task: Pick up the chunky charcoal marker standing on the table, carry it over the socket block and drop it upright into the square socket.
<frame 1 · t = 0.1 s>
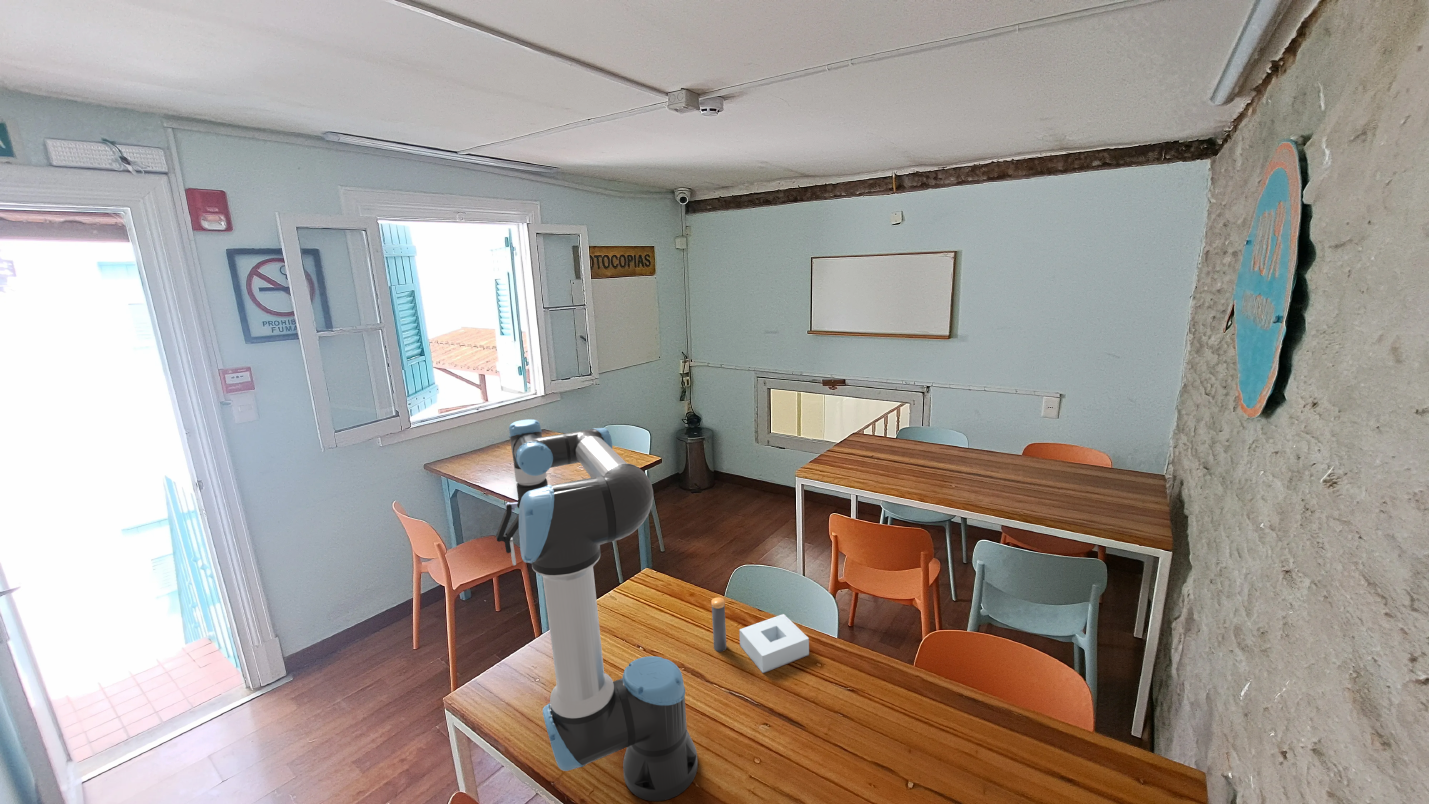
hand: (541, 556, 144), 28 cm above the table, fingers open, 13 cm apart
marker: (720, 647, 147), on the table
socket block: (773, 650, 145), on the table
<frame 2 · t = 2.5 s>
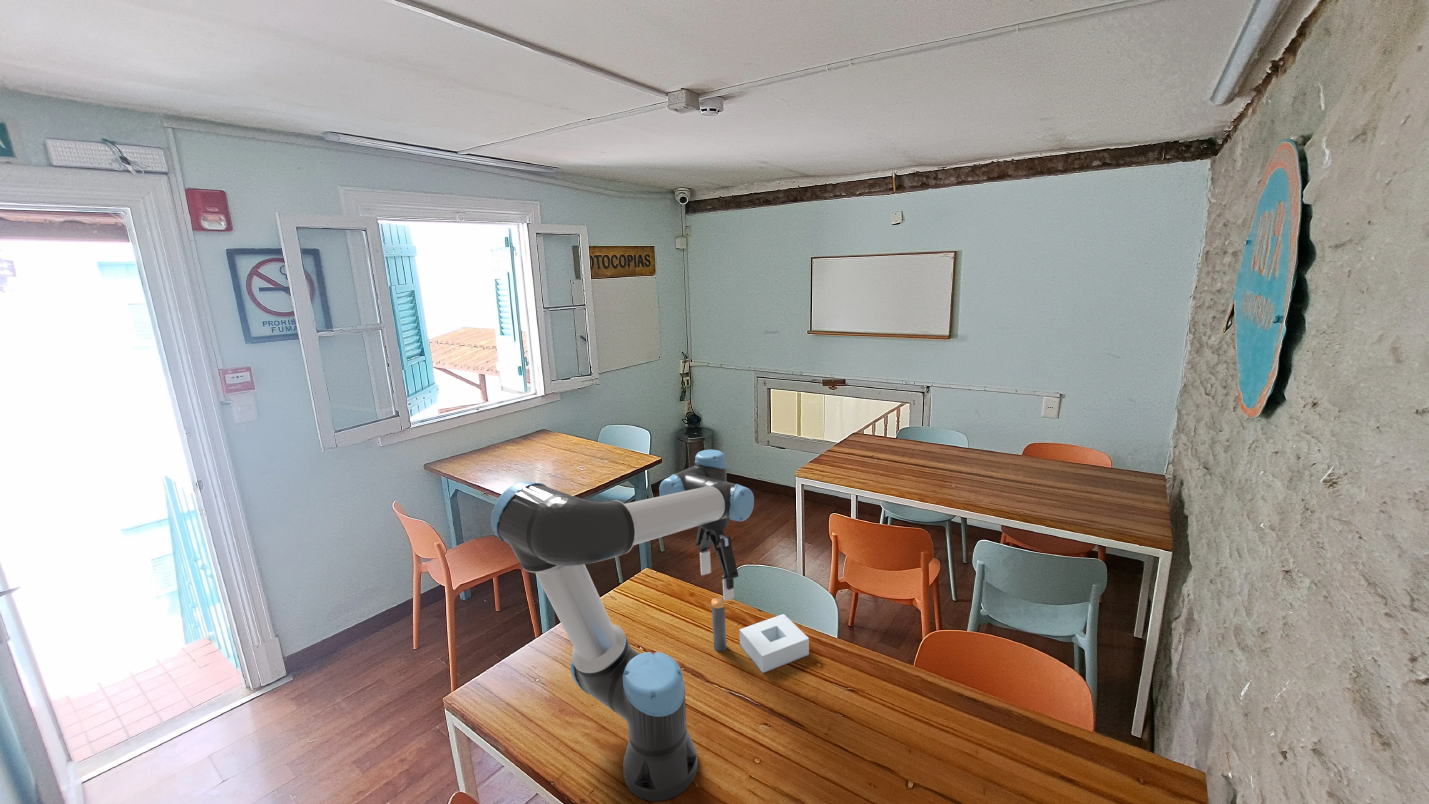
hand: (717, 585, 143), 19 cm above the table, fingers open, 13 cm apart
nothing on the table moved.
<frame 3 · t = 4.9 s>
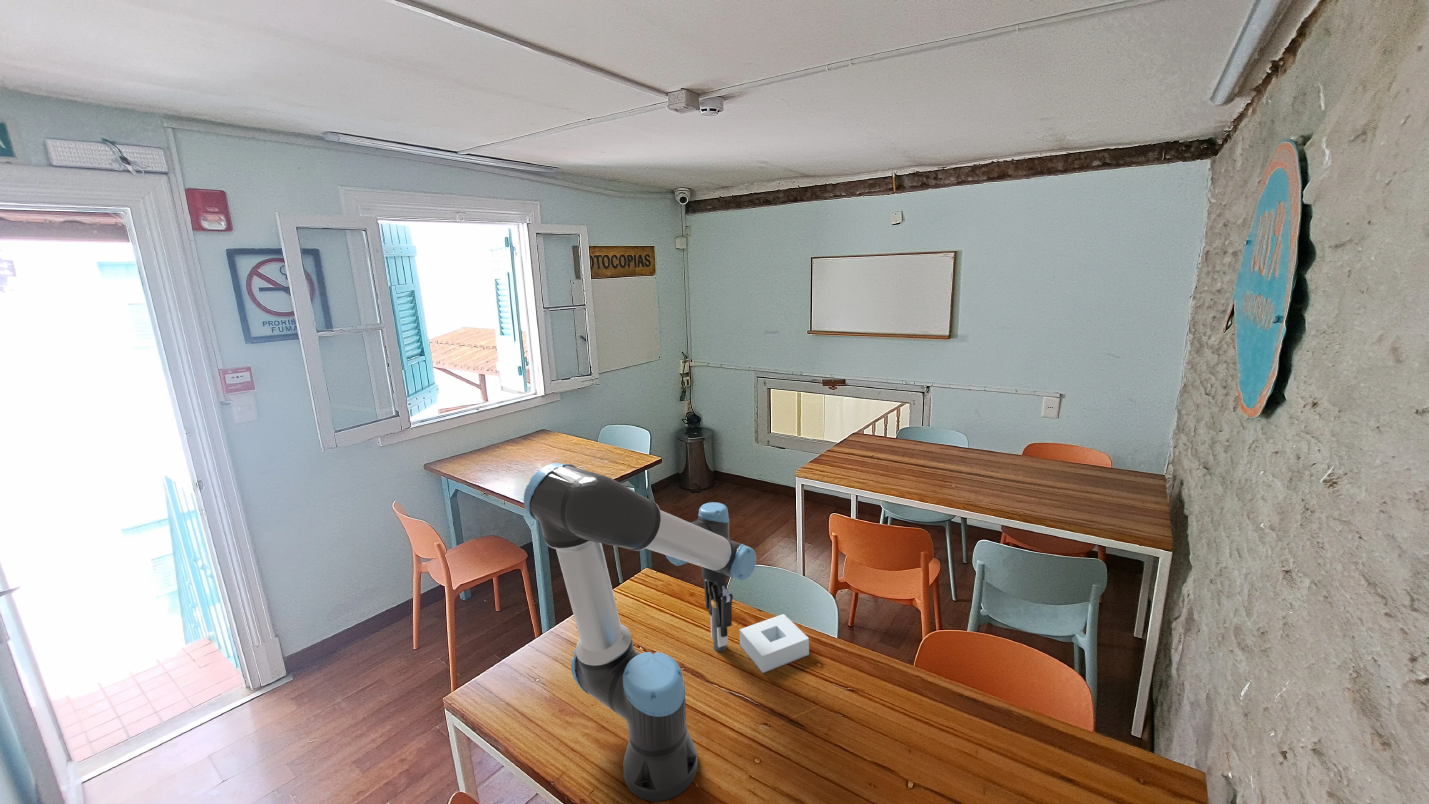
hand: (719, 640, 147), 2 cm above the table, fingers closed on marker, 3 cm apart
marker: (719, 647, 147), on the table, touching gripper
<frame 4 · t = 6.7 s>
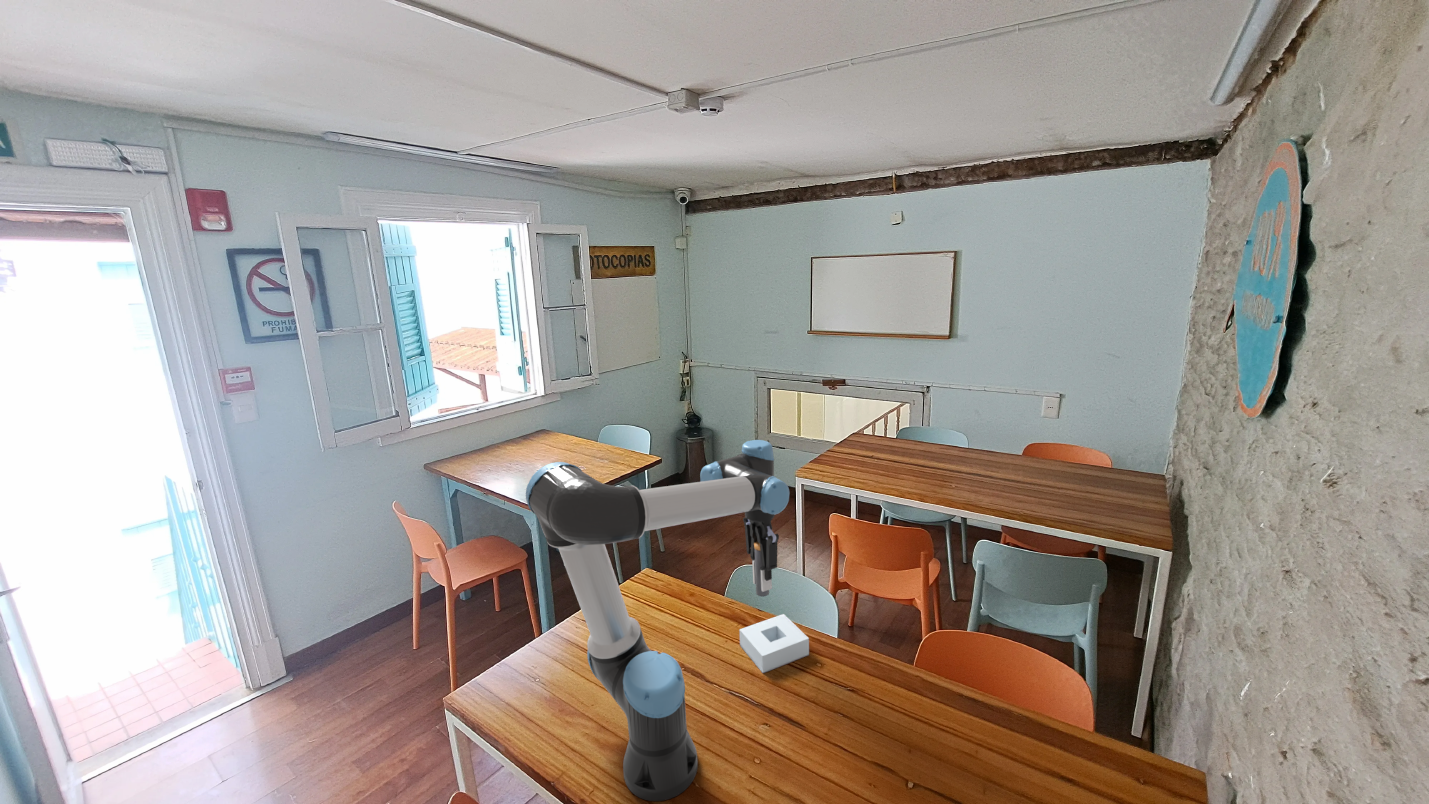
hand: (762, 585, 142), 19 cm above the table, fingers closed on marker, 3 cm apart
marker: (762, 592, 142), point 17 cm above the table, touching gripper
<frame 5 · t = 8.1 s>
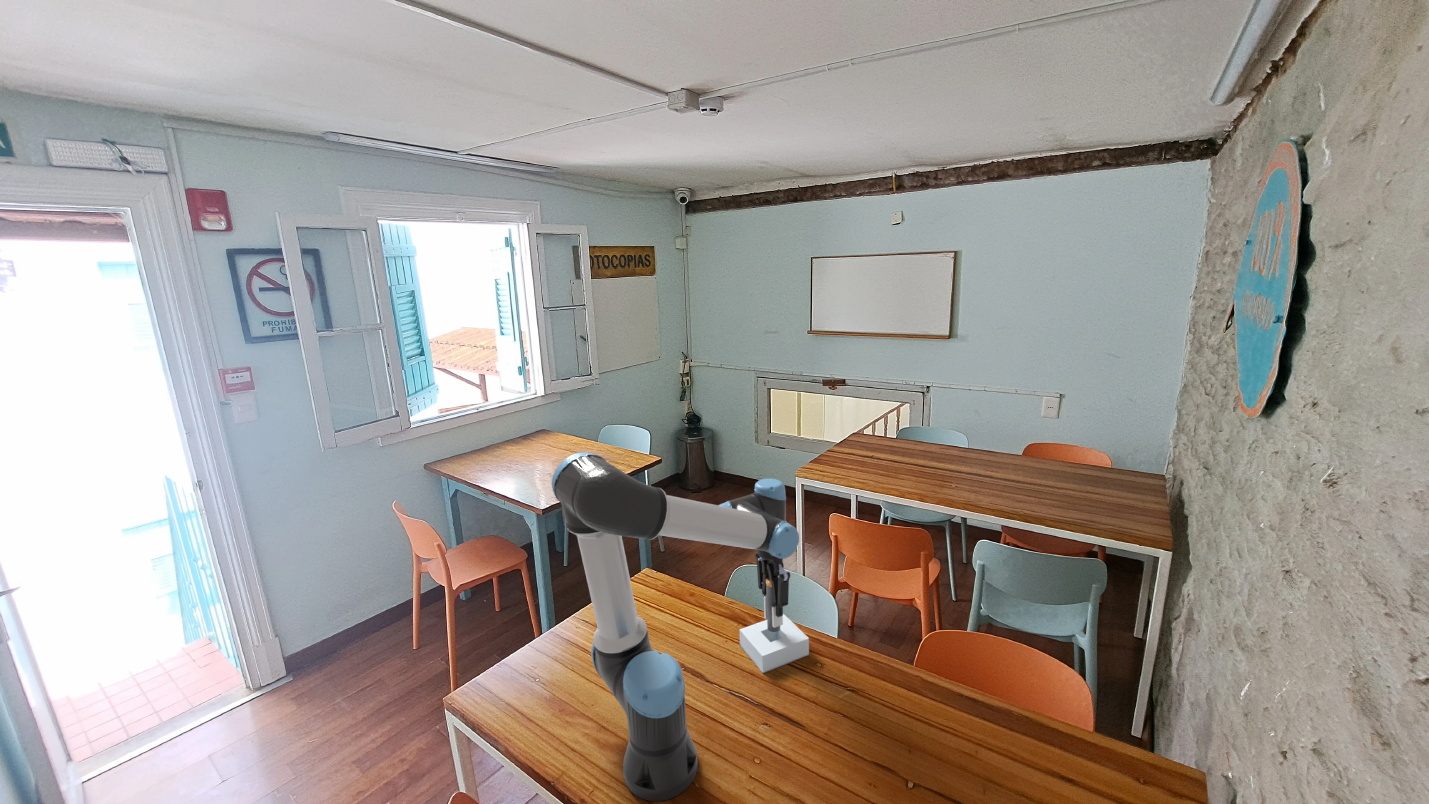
hand: (773, 621, 143), 9 cm above the table, fingers closed on marker, 3 cm apart
marker: (773, 627, 144), point 7 cm above the table, touching gripper
when the fingers open (6 cm above the table, at t = 8.9 s): marker drops 2 cm, resting on socket block.
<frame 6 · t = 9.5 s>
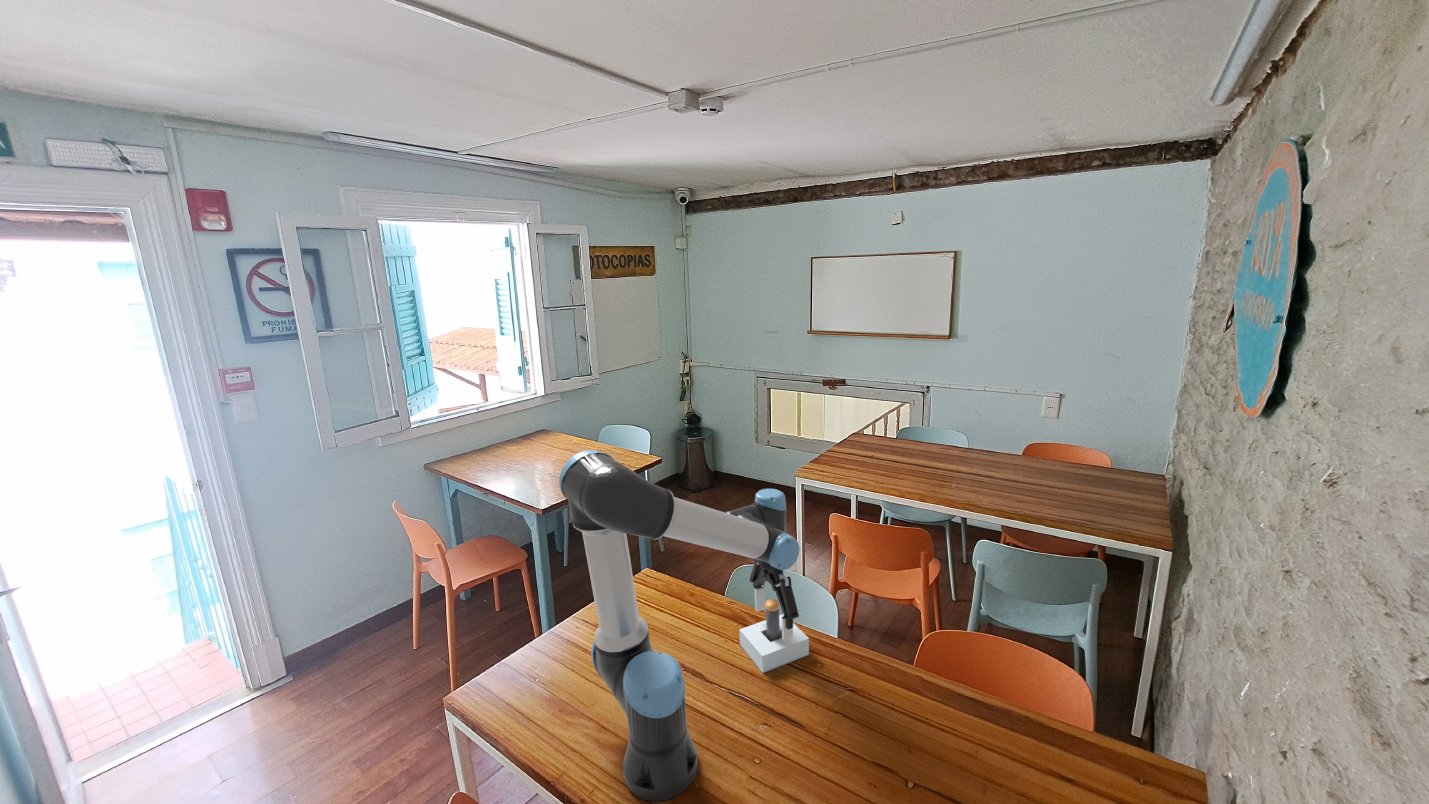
hand: (773, 623, 143), 8 cm above the table, fingers open, 13 cm apart
marker: (774, 648, 145), point 1 cm above the table, touching socket block
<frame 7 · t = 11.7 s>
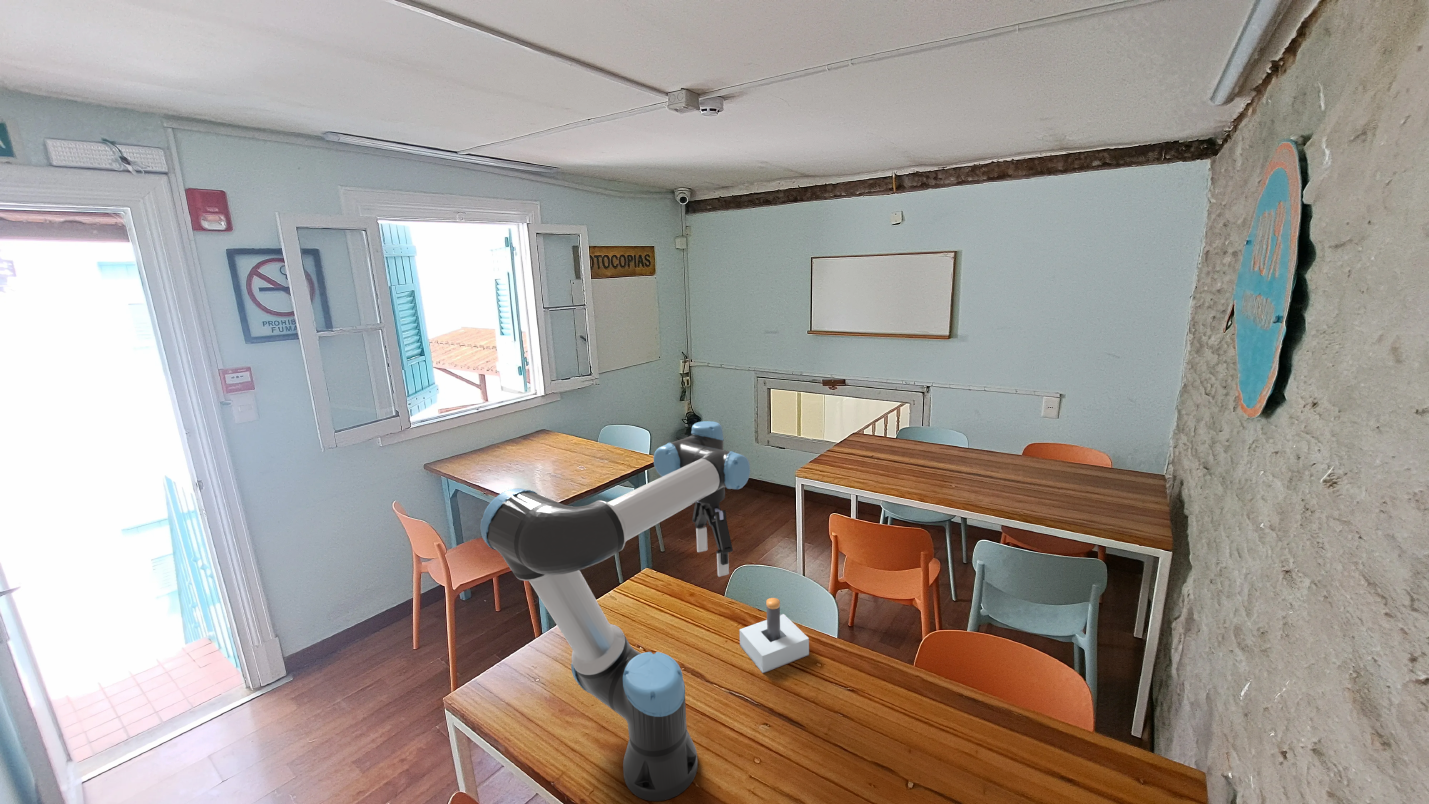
hand: (712, 562, 140), 26 cm above the table, fingers open, 13 cm apart
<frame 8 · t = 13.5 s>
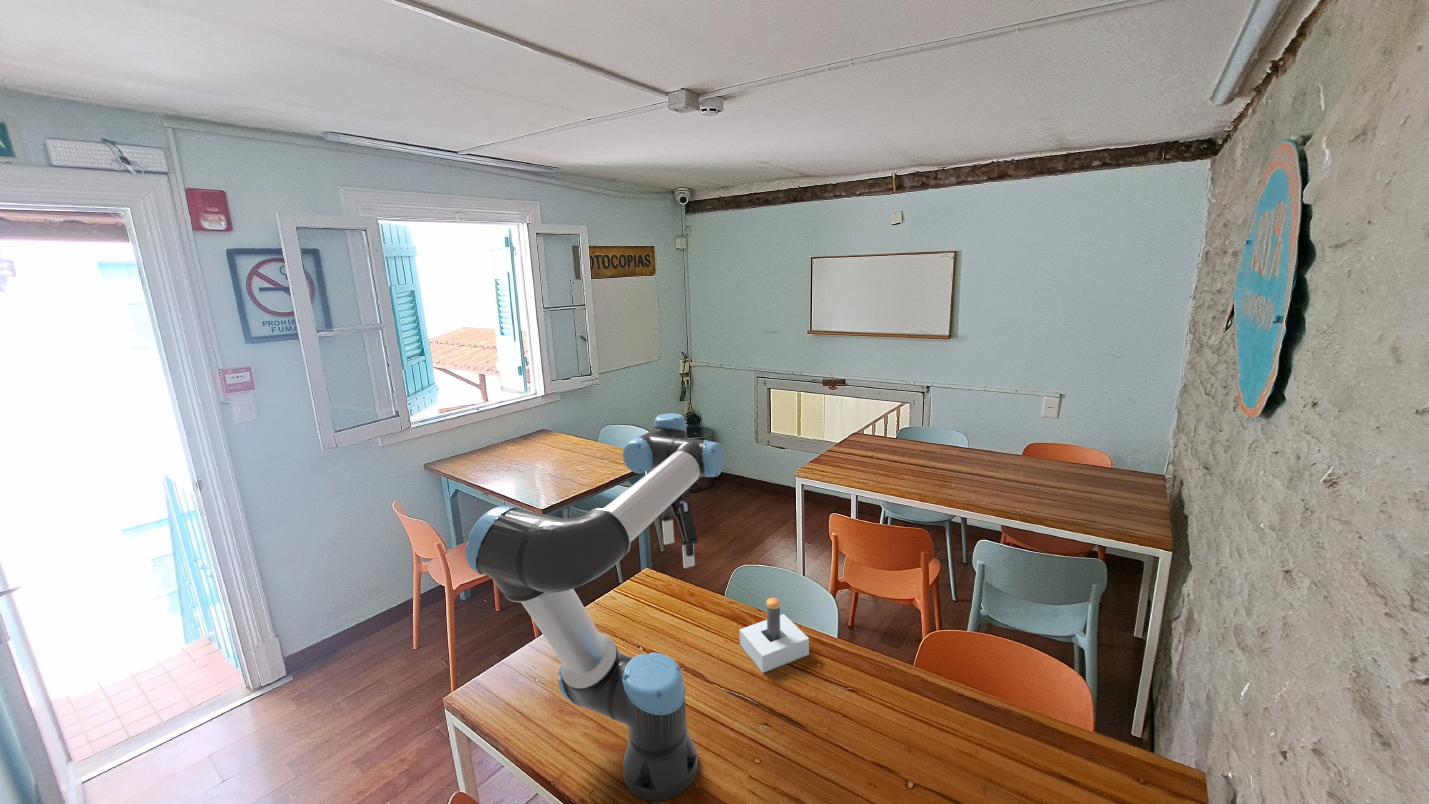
hand: (678, 554, 140), 29 cm above the table, fingers open, 13 cm apart
nothing on the table moved.
at the end: marker 0.0 cm off-centre on the socket block, point 0.5 cm above the socket block's base; marker tilted 0°; the gripper is holding nothing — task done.
